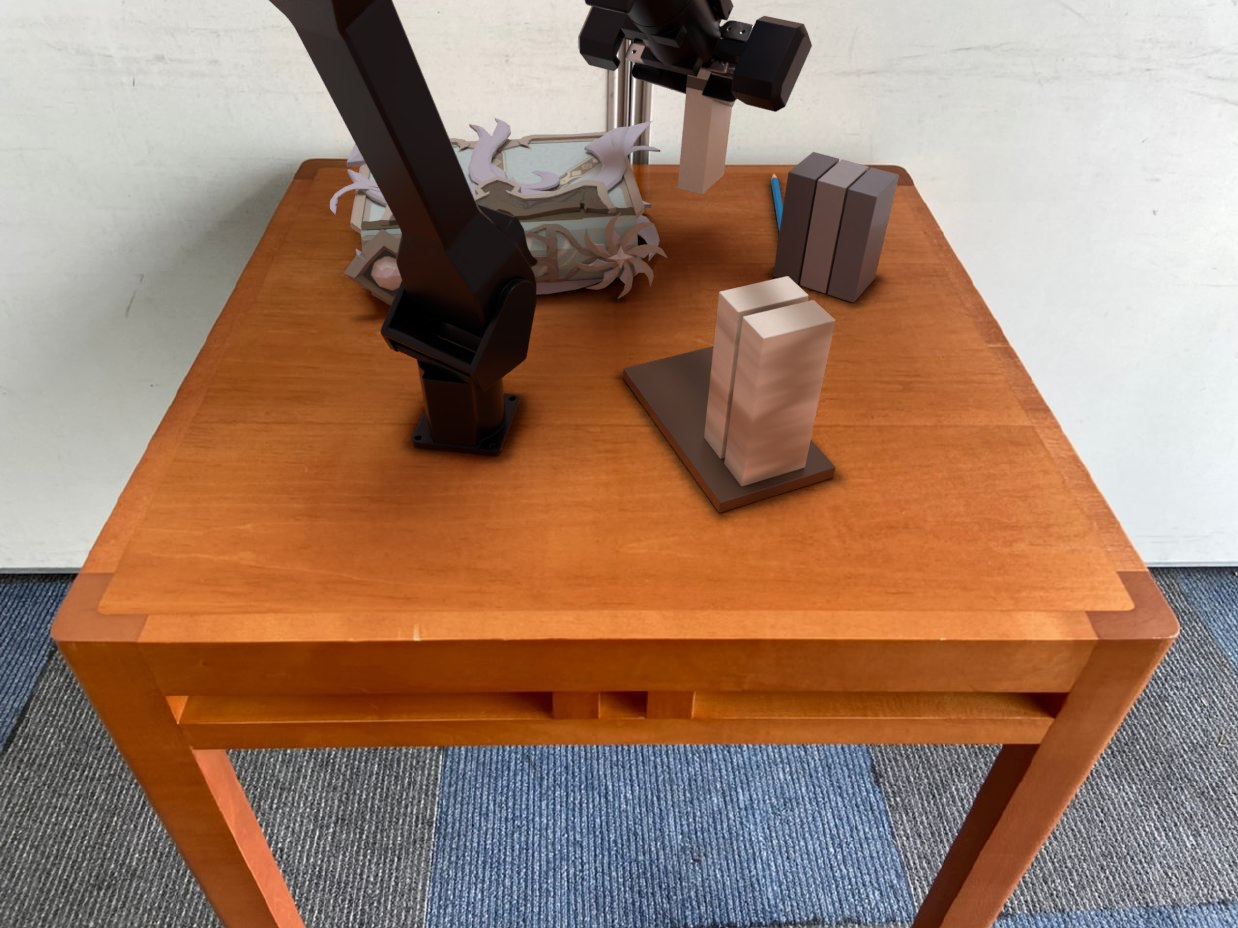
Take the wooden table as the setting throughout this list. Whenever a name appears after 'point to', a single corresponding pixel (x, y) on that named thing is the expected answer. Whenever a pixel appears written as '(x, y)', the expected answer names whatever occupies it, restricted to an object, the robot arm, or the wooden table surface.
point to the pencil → (777, 199)
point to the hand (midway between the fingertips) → (718, 97)
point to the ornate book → (530, 207)
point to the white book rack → (746, 395)
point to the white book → (702, 137)
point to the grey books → (834, 225)
